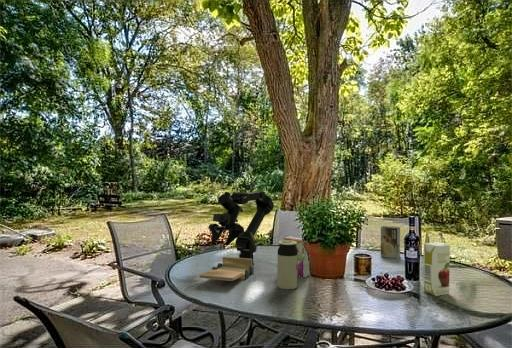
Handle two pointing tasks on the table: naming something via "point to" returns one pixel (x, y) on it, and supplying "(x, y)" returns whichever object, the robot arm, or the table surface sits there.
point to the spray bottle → (300, 257)
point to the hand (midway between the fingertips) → (219, 245)
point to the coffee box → (390, 242)
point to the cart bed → (236, 266)
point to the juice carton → (436, 268)
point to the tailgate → (221, 275)
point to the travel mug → (287, 265)
